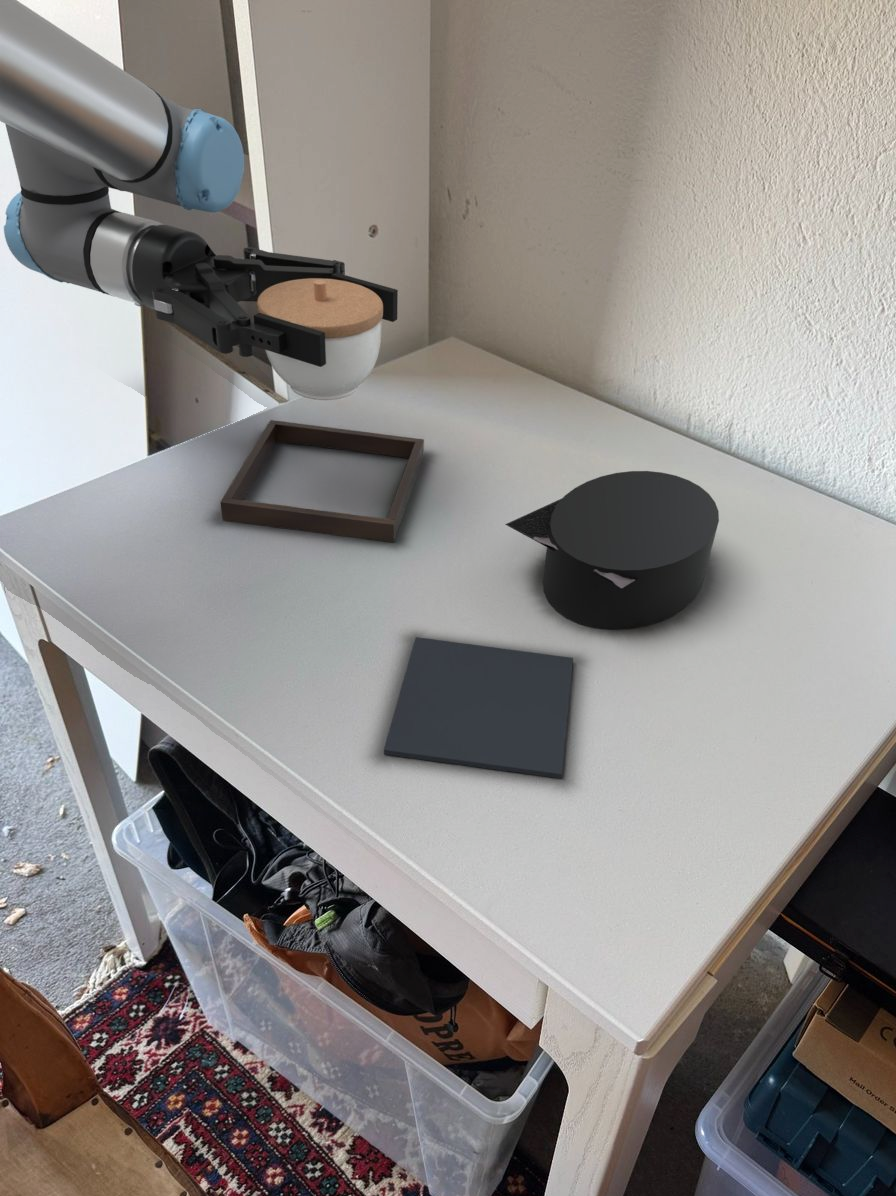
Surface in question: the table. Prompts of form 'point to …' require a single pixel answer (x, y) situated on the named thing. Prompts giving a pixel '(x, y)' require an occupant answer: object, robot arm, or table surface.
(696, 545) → the tape dispenser
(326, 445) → the dark wooden square frame
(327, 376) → the trinket box
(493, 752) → the mat
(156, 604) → the table surface
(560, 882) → the table surface
